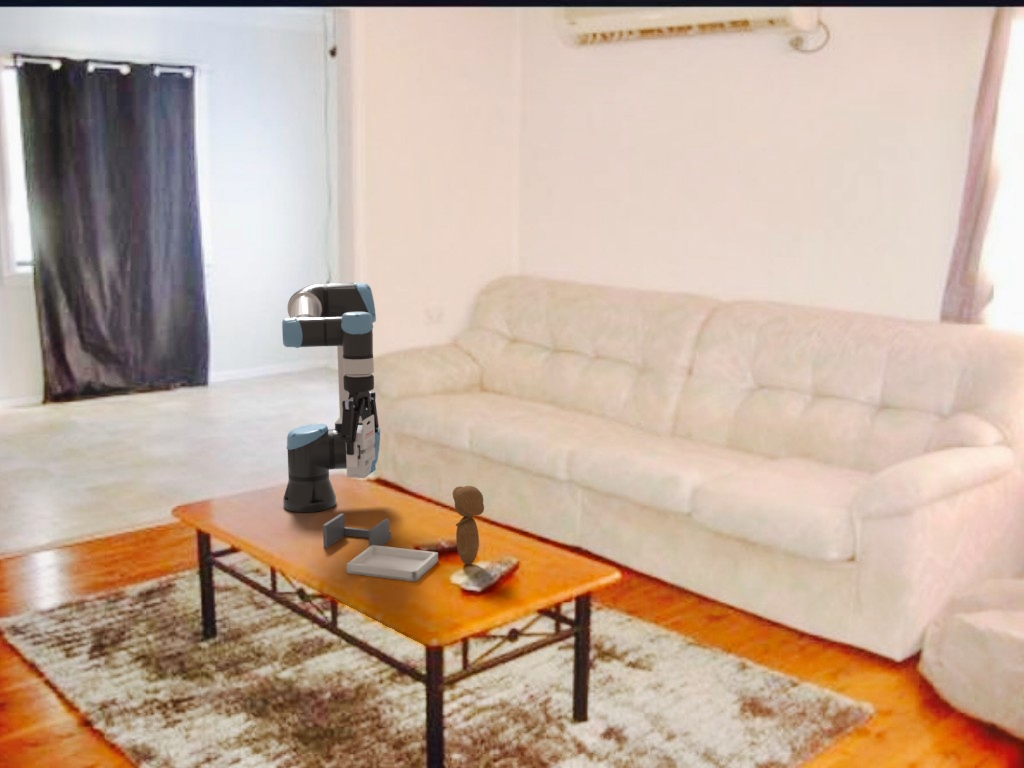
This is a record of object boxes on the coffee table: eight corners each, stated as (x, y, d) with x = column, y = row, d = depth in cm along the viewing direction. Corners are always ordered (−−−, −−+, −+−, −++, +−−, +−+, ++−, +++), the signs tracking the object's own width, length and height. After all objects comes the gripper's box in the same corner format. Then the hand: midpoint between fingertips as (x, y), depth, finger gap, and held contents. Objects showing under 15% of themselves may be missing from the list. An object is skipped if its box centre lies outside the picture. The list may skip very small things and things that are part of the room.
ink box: (358, 469, 267) (356, 412, 264) (376, 470, 266) (374, 413, 263) (346, 477, 258) (344, 419, 256) (364, 478, 257) (363, 420, 255)
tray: (372, 553, 262) (371, 544, 262) (438, 561, 257) (437, 552, 256) (346, 573, 249) (346, 563, 249) (415, 581, 244) (415, 572, 243)
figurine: (465, 556, 260) (464, 479, 257) (490, 561, 257) (490, 483, 253) (447, 568, 253) (445, 489, 249) (472, 573, 249) (471, 493, 246)
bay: (343, 533, 277) (342, 512, 276) (391, 539, 273) (390, 517, 272) (323, 547, 267) (322, 525, 266) (373, 553, 263) (372, 530, 262)
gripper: (364, 367, 269) (366, 451, 273) (324, 380, 249) (327, 471, 253) (390, 368, 266) (392, 453, 270) (352, 382, 246) (354, 474, 250)
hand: (361, 462), depth 261 cm, fingers closed on ink box, 9 cm apart
